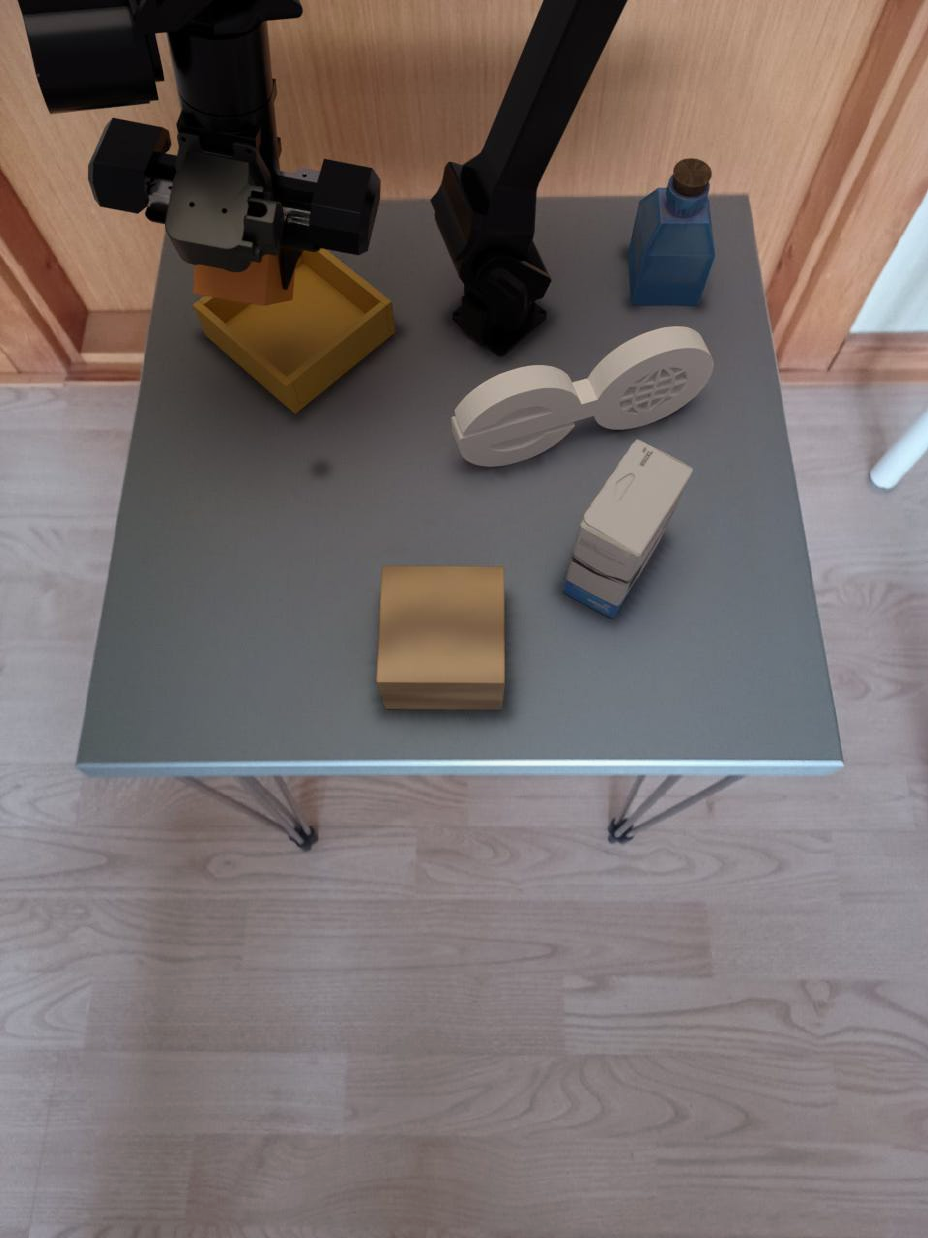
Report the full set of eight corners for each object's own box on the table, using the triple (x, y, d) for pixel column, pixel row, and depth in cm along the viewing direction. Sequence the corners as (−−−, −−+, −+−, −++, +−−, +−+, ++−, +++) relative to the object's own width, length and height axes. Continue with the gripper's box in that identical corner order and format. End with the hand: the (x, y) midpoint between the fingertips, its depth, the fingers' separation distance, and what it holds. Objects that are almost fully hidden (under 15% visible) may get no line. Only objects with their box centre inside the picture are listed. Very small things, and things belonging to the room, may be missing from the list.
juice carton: (235, 223, 69) (196, 216, 59) (298, 234, 69) (270, 229, 59) (231, 289, 71) (192, 293, 61) (292, 300, 71) (264, 306, 61)
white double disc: (686, 390, 78) (716, 312, 68) (696, 409, 77) (728, 333, 67) (452, 457, 75) (450, 386, 66) (460, 478, 74) (459, 410, 65)
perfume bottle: (698, 305, 81) (734, 201, 70) (631, 305, 81) (657, 200, 70) (692, 253, 83) (726, 144, 72) (627, 253, 83) (652, 144, 72)
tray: (305, 259, 83) (297, 226, 79) (395, 332, 80) (391, 301, 76) (205, 335, 80) (192, 304, 76) (295, 414, 77) (285, 385, 73)
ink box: (613, 622, 70) (640, 559, 59) (559, 592, 71) (576, 524, 60) (662, 540, 72) (697, 465, 61) (609, 512, 73) (634, 434, 62)
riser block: (390, 601, 70) (381, 565, 64) (501, 602, 70) (504, 565, 64) (385, 709, 67) (375, 682, 61) (501, 710, 67) (505, 683, 60)
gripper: (24, 145, 49) (98, 337, 63) (353, 208, 50) (353, 383, 64) (85, 22, 53) (141, 227, 68) (385, 82, 55) (378, 272, 69)
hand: (251, 279), depth 67 cm, fingers closed on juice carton, 5 cm apart
